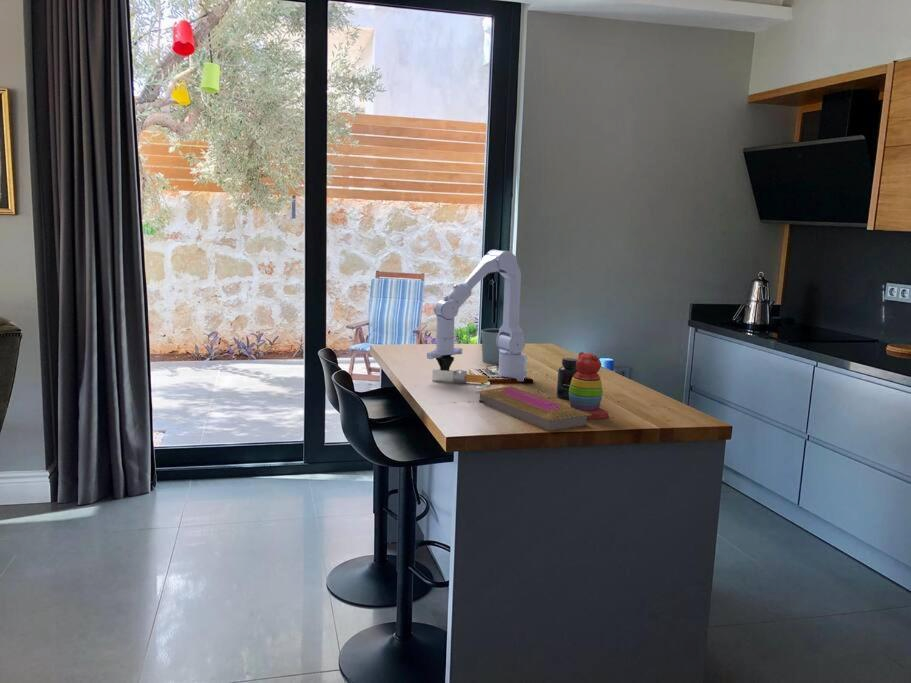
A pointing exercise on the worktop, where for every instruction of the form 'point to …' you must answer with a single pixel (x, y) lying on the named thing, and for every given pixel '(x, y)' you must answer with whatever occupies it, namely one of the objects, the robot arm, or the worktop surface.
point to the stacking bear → (587, 387)
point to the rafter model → (528, 399)
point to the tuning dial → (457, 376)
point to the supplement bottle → (565, 377)
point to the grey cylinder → (490, 346)
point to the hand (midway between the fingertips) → (444, 378)
